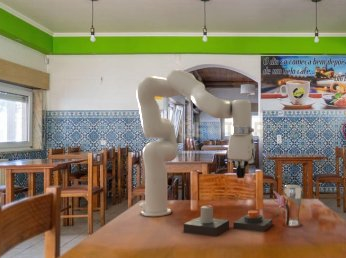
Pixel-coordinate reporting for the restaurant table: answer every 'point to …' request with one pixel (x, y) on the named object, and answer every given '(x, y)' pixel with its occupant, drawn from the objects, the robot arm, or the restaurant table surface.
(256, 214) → the power button
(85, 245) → the restaurant table surface
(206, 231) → the panel
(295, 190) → the beer glass
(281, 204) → the lily
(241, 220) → the power block
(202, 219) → the timer knob
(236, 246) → the restaurant table surface
